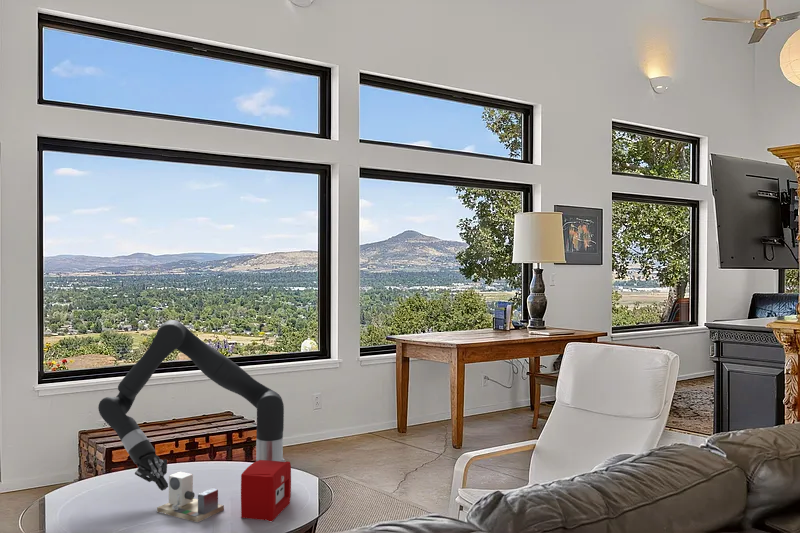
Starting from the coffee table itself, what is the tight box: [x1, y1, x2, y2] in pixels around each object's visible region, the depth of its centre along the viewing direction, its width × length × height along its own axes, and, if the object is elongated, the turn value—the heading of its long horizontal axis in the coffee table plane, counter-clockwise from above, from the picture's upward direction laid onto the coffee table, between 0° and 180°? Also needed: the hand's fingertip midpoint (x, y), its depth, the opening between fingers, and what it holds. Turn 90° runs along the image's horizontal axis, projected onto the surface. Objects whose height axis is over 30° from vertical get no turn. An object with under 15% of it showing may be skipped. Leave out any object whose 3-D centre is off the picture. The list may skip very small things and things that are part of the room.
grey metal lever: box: [175, 494, 182, 510], centre depth 236 cm, size 1×2×5 cm, turn 153°
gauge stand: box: [156, 497, 225, 523], centre depth 240 cm, size 17×12×2 cm
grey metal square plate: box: [197, 487, 219, 514], centre depth 236 cm, size 2×6×6 cm, turn 153°
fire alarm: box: [240, 460, 292, 522], centre depth 240 cm, size 16×11×15 cm
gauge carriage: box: [168, 471, 195, 510], centre depth 239 cm, size 8×8×9 cm
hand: (165, 488), depth 245 cm, fingers closed
